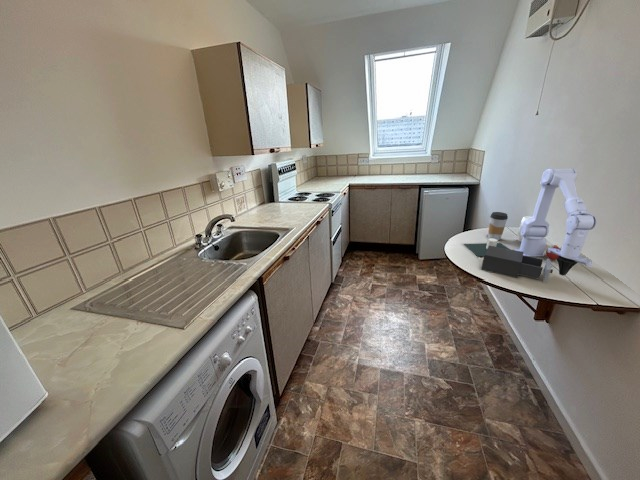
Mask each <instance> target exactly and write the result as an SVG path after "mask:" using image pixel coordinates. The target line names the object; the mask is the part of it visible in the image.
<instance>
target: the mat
mask: <svg viewBox="0 0 640 480" xmlns="http://www.w3.org/2000/svg"><path fill="white" fill-rule="evenodd" d="M463 246H465V247H466V248H467V249H468V250H470V251H471V252H472V253H473V254H474V255H475V256H477V257H478V258H484V255H485V253H486V251H487V248H486V246H487V242H486V243H485V242H484V243H463ZM496 247H500V248H505V249H510V248H509V247H507V246H506V245H504V244H502V243H501V242H497V246H496Z"/></svg>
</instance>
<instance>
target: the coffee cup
mask: <svg viewBox="0 0 640 480" xmlns="http://www.w3.org/2000/svg"><path fill="white" fill-rule="evenodd" d="M489 217H490V218H489V223H488V230H487V232H488V234H487V239H489V238H493V239H496V240H498V241H500V240H501V239H502V235H503V234H504V230H505V227H506V223H507V221H508V218H509V216H508V213H506V212H502V211H493V212H491V213H490V216H489Z"/></svg>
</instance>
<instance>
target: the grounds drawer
mask: <svg viewBox="0 0 640 480" xmlns="http://www.w3.org/2000/svg"><path fill="white" fill-rule="evenodd" d="M543 262H544V259H543V258H540V257H536V256H534V257H530V256H524V255H523V258H522V263H521V267H520V270H519V274H518V276H524V277H528V278H532V279H537V280H540V278H541V276H543V277H542V282H544V283H548V280H549V277H550V275H551V274H553V272H554V269H552V260H550V259H549V258H547V259H546V261H545V264H544V267H543V266H542V264H543ZM542 273H543V275H542Z"/></svg>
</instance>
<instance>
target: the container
mask: <svg viewBox="0 0 640 480" xmlns="http://www.w3.org/2000/svg"><path fill="white" fill-rule="evenodd" d="M498 241H499V240H496V239H493V238H487V241H486V243H487V246H486V248H487V249H488V247H489V246H494V247H496V246H497V243H499V242H498Z"/></svg>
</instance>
